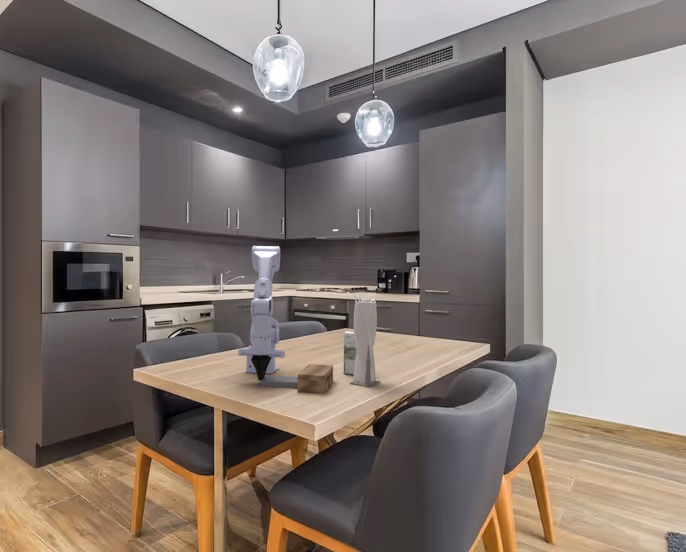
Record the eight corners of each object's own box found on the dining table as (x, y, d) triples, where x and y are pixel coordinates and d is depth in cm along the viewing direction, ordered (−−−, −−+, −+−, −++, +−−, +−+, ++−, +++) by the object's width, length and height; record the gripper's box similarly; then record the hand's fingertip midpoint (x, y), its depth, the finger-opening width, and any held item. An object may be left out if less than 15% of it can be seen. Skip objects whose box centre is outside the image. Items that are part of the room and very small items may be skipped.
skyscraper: (346, 383, 128) (347, 294, 128) (359, 377, 135) (360, 293, 134) (369, 387, 123) (370, 295, 123) (381, 381, 130) (383, 294, 130)
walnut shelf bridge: (297, 391, 118) (297, 374, 118) (308, 379, 131) (308, 364, 131) (324, 393, 117) (324, 375, 117) (333, 380, 130) (333, 365, 130)
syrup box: (363, 371, 143) (363, 330, 142) (359, 376, 137) (359, 333, 137) (347, 370, 144) (347, 329, 144) (343, 374, 138) (343, 332, 138)
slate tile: (260, 387, 123) (260, 380, 123) (266, 381, 130) (267, 375, 130) (302, 389, 122) (302, 382, 122) (306, 383, 129) (306, 376, 129)
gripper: (234, 337, 124) (233, 381, 124) (279, 339, 122) (279, 384, 122) (243, 333, 131) (243, 375, 131) (287, 335, 129) (286, 378, 129)
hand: (261, 379), depth 127 cm, fingers closed
